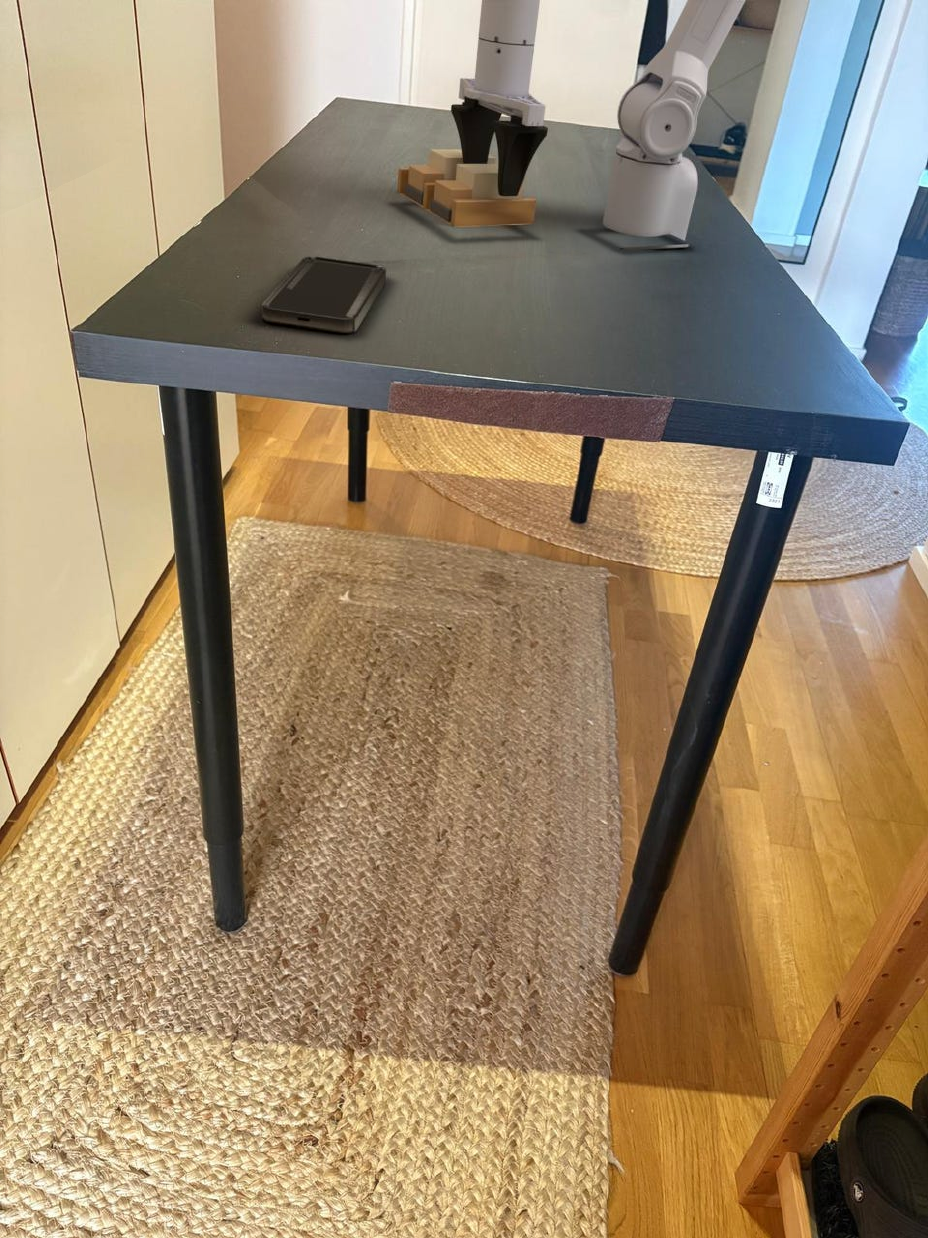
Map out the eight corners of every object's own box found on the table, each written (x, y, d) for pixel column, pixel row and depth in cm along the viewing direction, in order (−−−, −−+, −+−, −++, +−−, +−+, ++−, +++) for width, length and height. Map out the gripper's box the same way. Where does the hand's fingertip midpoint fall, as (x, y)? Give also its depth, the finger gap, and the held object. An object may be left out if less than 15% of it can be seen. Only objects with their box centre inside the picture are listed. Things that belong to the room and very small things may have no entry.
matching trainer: (476, 192, 110) (481, 148, 107) (494, 202, 107) (499, 157, 104) (404, 194, 106) (406, 148, 103) (421, 204, 103) (424, 157, 100)
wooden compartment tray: (470, 202, 112) (474, 167, 110) (531, 237, 102) (536, 199, 100) (396, 204, 108) (398, 167, 105) (452, 240, 98) (456, 201, 96)
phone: (388, 266, 85) (354, 320, 73) (387, 279, 85) (353, 334, 74) (304, 254, 85) (257, 306, 73) (304, 267, 86) (257, 320, 74)
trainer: (504, 208, 105) (509, 163, 102) (523, 219, 102) (529, 172, 99) (429, 210, 101) (433, 163, 98) (447, 221, 98) (452, 173, 95)
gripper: (438, 28, 95) (428, 169, 104) (508, 50, 86) (491, 204, 94) (497, 32, 98) (482, 169, 107) (570, 53, 89) (549, 203, 97)
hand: (490, 186), depth 101 cm, fingers open, 7 cm apart
